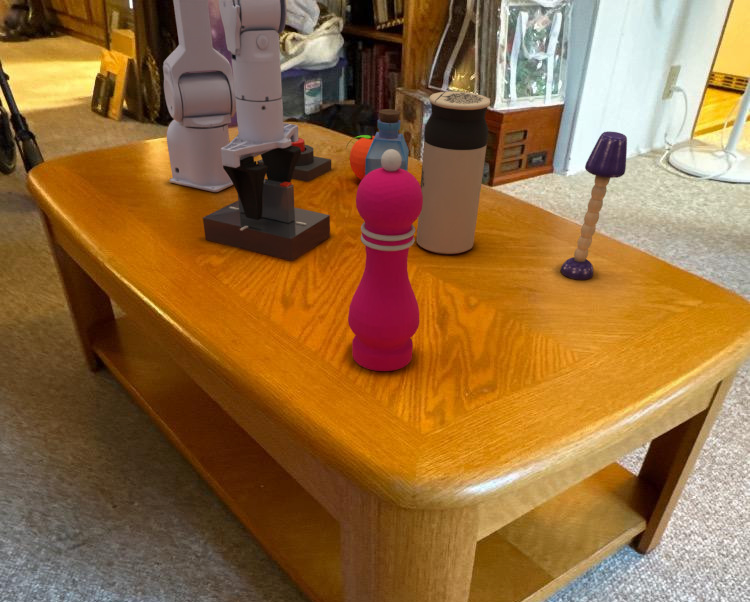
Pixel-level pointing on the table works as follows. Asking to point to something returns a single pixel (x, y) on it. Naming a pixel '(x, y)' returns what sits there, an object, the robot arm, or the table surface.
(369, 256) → the pepper mill
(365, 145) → the clementine
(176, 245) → the table surface
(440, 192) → the travel mug
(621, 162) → the toy lamp
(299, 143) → the button
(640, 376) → the table surface
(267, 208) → the upright grey panel
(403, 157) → the perfume bottle
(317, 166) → the control block
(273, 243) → the base
